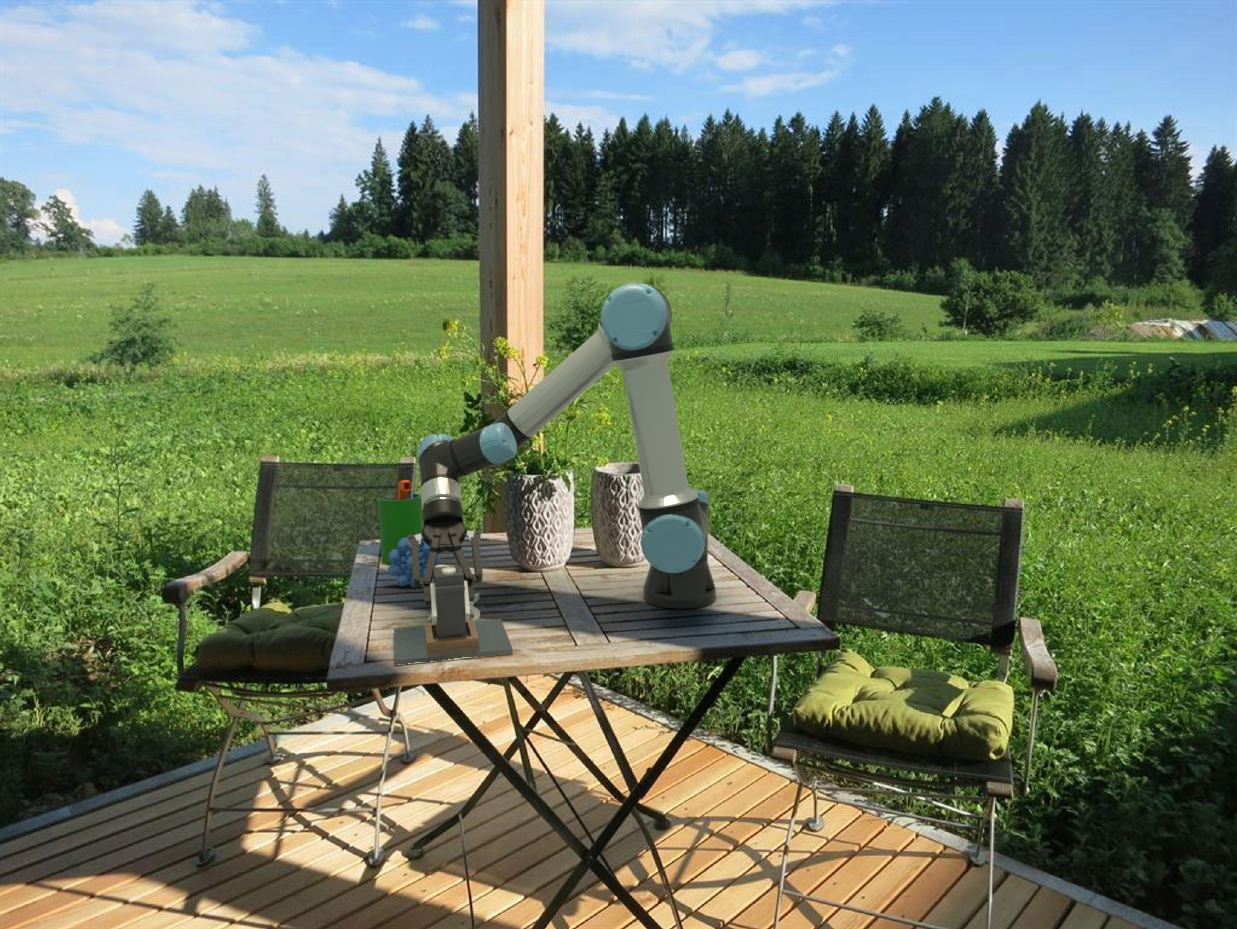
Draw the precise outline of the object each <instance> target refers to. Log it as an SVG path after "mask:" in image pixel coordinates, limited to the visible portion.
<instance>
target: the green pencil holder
mask: <svg viewBox="0 0 1237 929" xmlns="http://www.w3.org/2000/svg"><path fill="white" fill-rule="evenodd" d="M411 484H412V483H411V481H410V480H408V479H403V480H399V481H398V482H397V493H396V494H397V497H396V498H397V499H391V500H390V499H383V498H381V497H378V498H377V506H378V507H377V509H378V510H377V511H378V523H379V524H378V526H379V527H378V528H379V539H380V543H379V544H380V554H381V557H380V558H381V563H382V564H383V565H387V566H390V565H391V564H392V563H393V562H391V561H390V560H389V553H390V552H391V551H392V550H393V549H398V542H399V541H400V540H401V539H402V538H408V535H410V534H413V535H417V534H420V533H421V531H422V529H423V516H422V509H423V508H422V502H421V493H417V492H413V493H412V497H411V498H408V496H407V494H408V492H409V491H411V490H412V485H411Z"/></svg>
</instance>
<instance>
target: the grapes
mask: <svg viewBox="0 0 1237 929" xmlns="http://www.w3.org/2000/svg"><path fill="white" fill-rule="evenodd" d="M418 548H419V570H420V577H421V578H424V576H425V572H426V567H427V563H428V559H429V554H430V549H431V548H430V547H429V546H428V545H427V544H426V543H425V542H424V541H423V540H422V541H421V545H420V546H419V547H418ZM389 560H390V561H391V562H393V563H392V564H391V565H388V568H387V573H388V575H389V576H390V577H396V578H395V579H396V580H395V581H396V585H398V587H405V586H407V585H408V584H409V585H410V587H411V588H415V589H417V588H416V587H414V586H413V571H412V551H411V549H410V547H409V545H408V538H402V539H401V540H400V541H399V542H398V549H393V550H392V551H391V552H390V553H389ZM440 562H441V556H440V554H438V556H437V559H436V564H435V567H438V565H439V564H440ZM432 579H433V577H432Z"/></svg>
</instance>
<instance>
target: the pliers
mask: <svg viewBox="0 0 1237 929" xmlns="http://www.w3.org/2000/svg"><path fill="white" fill-rule="evenodd" d="M479 600H480V593H478V592H477V593H475V597H474V601H469V605H470V616H473V618H472V619H474V621H480V618H481V611H480V609H478V608H477V607H475V606H474V604H476V603H477V602H478V601H479ZM431 622H432V613H431V614H430V615H429V616H428V617H427V618H426V623H431Z"/></svg>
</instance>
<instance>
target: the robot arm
mask: <svg viewBox="0 0 1237 929" xmlns="http://www.w3.org/2000/svg"><path fill="white" fill-rule="evenodd" d="M600 313H601V314H600V316H601V317H600V321H599V322H598V325H597V331H595V332H594V333H593V334H592V335H591V336H590V337H589V338H588V339H586V340H585V341H584V342H583V343H582V344H581V345H580V346H579V347H577V349H576V350H574V351H573V352H572V353H571V354H569V356H568V357H566V358H565V359H564V360H563V361H562V362H561V363H559V364H558V365H557V366H556V367H555V368H554V369H553V370H551V372H549V373H548V374H547V375H546V376H544V378H543V379H541V380H540V381H539V382H538V383H537V384H536V385H535V386H534V387H533V388H531V389H529V391H528V392H527V393H526V394H524V395H523V396H522V397H521V398H520V399H519V400H518V401H516V402H515V403H514V404H513V405H512V406H511V407H510V408H508V409H507V411H505V412H504V413H503V414H502V415H500V416H499V417H498V418H497V419H496V420H495V421H494V422H492V423H491V424H489V425H486V426H484V427H482V428H480V429H478V430H475V431H473V432H471V433H468V434H466V435H463V436H461V437H458V438H455V439H454V438H453V437H452V436H450V435H448V434H445V433H439V434H435V433H432V434H429V435H427V436H426V437H424V438H423V439H422V440H421V441H420V443H419V446H418V458H417V463H418V469H419V470H418V471H419V479H420V495H421V502H422V519H423V529H422V531H421V533H420V534H417V535H413V534H410V535H408V545H409V547H410V549H411V551H412V571H413V586H414V587H416V588H415V589H417V588H421V589H422V590H423V601H424V604H425V606H426V605H427V606H428V605H430V606H431V608H430V609H431V614H432V620H431V623H437V609H436V596H435V583H434V582H432V581H433V578H432V577H433V568H434V567H436V566H435V564H436V559H437V556H438V555H439V553H440V554H441V553H444V552H447V553H448V552H449V553H451V552H452V554H453V557H454V558H455V561H456V563H457V566H461V567H462V570H463V573H464V586H465V591H464V593H465V620H470V619H471V615H470V605H469V601H474V597H475V594H476V593H475V586H474V585H475V584H477V583H479V584H480V583H482V582H483V576H484V573H483V565H482V556H481V549H480V547H481V546H480V542H481V536H482V532H481V530H480V529H476V530H474V531H473V530H472V531H471V530H468V528H467V527H466V525H465V522H464V512H463V506H462V505H463V504H462V502H463V501H462V493H461V492H462V490H461V482H460V481H461V480H460V479H461V478H464V477H468V476H470V475H471V474H474V473H478V472H480V471H481V472H482V471H483V470H486V469H488V468H491V467H494V466H497V465H502V464H504V463H506V462H507V461H510V460H512V459H514V458H515V457H516V455H517V452H518V451H520V450H521V448H522V447H523V445H525V444H527V442H529V440H530V439H531V438H532V437H534V436H535V435H536V434H538V432H540V431H541V430H542V429H543V428H545V427H546V426H547V425H548V424H549V423H550V422H551V421H552V420H555V418H556V417H557V416H558V415H560V414H561V413H562V412H563V411H564V410H565V409H567V407H569V406H570V405H572V403H574V402H575V401H576V400H577V399H578V398H580V396H581V395H583V394H584V393H585V392H587V390H589V389H590V388H591V387H592V386H593V385H595V383H597V382H598V381H599V380H601V379H602V377H603V376H605V375H607V373H609V371H611V370H612V369H613V368H615V366H617V367H618V368H619V369H620V370H621V371H622V376H623V383H624V389H625V393H626V394H625V395H626V400H627V405H628V410H629V417H630V423H631V428H632V432H633V433H632V434H633V440H634V444H635V450H636V456H637V460H638V461H637V462H638V467H639V473H640V478H641V485H642V490H643V496H642V497H641V499H640V500H639V501H638V503H637V508H638V513H639V518H640V526H641V531H642V533H641V537H640V548H641V551H642V554H643V556H644V558H645V559H646V561H647V562H648V563H649V564H650V565H649V569H648V572H647V575H646V578H645V581H644V583H643V588H642V589H643V591H642V596H643V600H644V601H645V602H646V603H648V604H650V605H653V606H656V607H659V608H660V607H661V608H666V609H680V610H681V609H682V610H684V609H686V610H687V609H696V608H702V607H705V606H708V605H711V604H713V603H714V602H716V597H717V596H716V595H717V594H716V593H717V589H716V588H717V587H716V585H715V581H714V578H713V575H712V572H711V569H710V565H709V559H708V557H709V556H708V554H709V552H708V548H709V507H710V503H709V495H708V493H707V491H704V490H702V489H701V490H699V489H692V488H691V487H690V486H689V482H688V474H687V470H686V468H687V467H686V464H685V458H684V452H683V446H682V440H681V434H680V428H679V422H678V417H677V416H678V415H677V409H676V404H675V399H674V391H673V387H672V381H671V374H670V368H669V361H670V359H671V357H672V355H673V354H674V352H675V350H674V348H675V347H674V344H673V343H674V342H673V337H672V331H671V329H672V328H671V322H672V319H673V318H672V315H673V313H672V308H671V304H670V302H669V299H668V298H667V297H666V295H665V294H664V293H663V292H662V291H660V289H658V288H656V287H654V286H651V285H649V284H646V283H641V282H629V283H627V284H624V285H620V286H619V287H617V288H616V289H614V290H613V291H611V293H610V294H609V295H608V297H607V298H606V300H605V301H604V303H603V304H602V309H601V312H600ZM466 538H467V539H468V543H469V544H470V545H471V554H472V562H473V570H474V571H473V572H474V573H472V571H471V570H472V569H471V568H470V566H469V563H468V561H467V559H466V555H465V553H464V551H463V548H462V543H463V542H464V541H465V539H466ZM422 540H423V541H424V542H425V543H426V544H427V545H428V546H429V547H430V548H431V549H430V554H429V559H428V563H427V567H426V572H425V576H424V578H421V577H420V570H419V548H418V547H419V546H420V545H421V541H422ZM414 587H413V588H414Z"/></svg>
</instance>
